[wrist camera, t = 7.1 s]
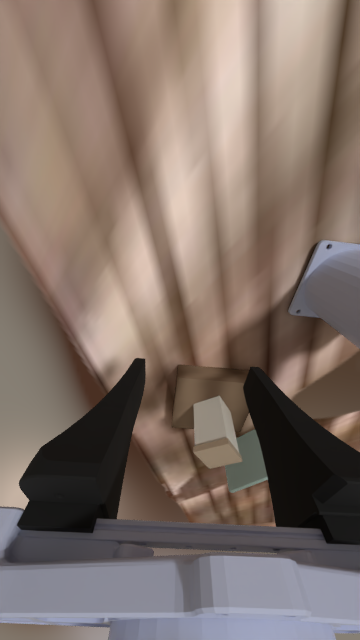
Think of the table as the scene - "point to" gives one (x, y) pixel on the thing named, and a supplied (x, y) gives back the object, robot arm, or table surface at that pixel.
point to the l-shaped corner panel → (247, 464)
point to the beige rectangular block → (215, 434)
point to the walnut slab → (208, 393)
